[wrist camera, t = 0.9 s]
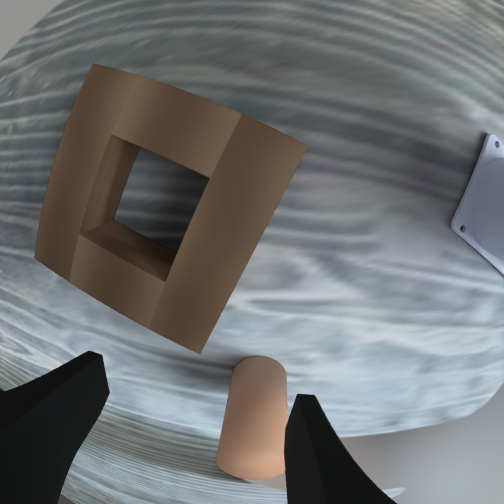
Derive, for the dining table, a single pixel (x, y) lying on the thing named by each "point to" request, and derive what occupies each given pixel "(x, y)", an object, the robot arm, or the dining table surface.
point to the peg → (255, 420)
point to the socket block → (202, 223)
